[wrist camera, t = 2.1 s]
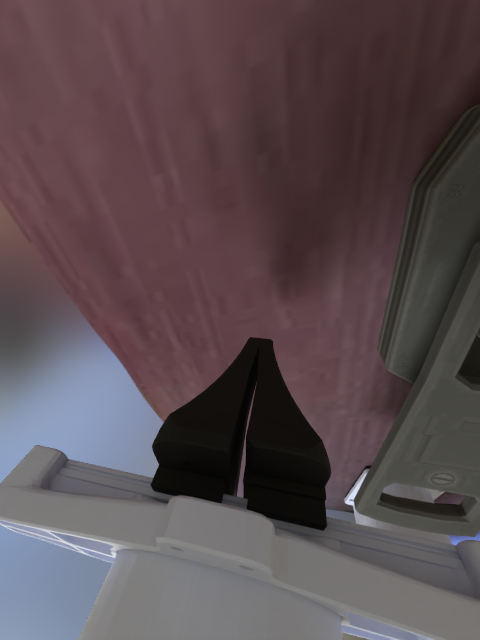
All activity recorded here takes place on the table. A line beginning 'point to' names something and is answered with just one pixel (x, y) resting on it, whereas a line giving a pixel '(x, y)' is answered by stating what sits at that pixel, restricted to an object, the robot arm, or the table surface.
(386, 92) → the table surface
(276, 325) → the table surface
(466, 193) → the zipper pull
